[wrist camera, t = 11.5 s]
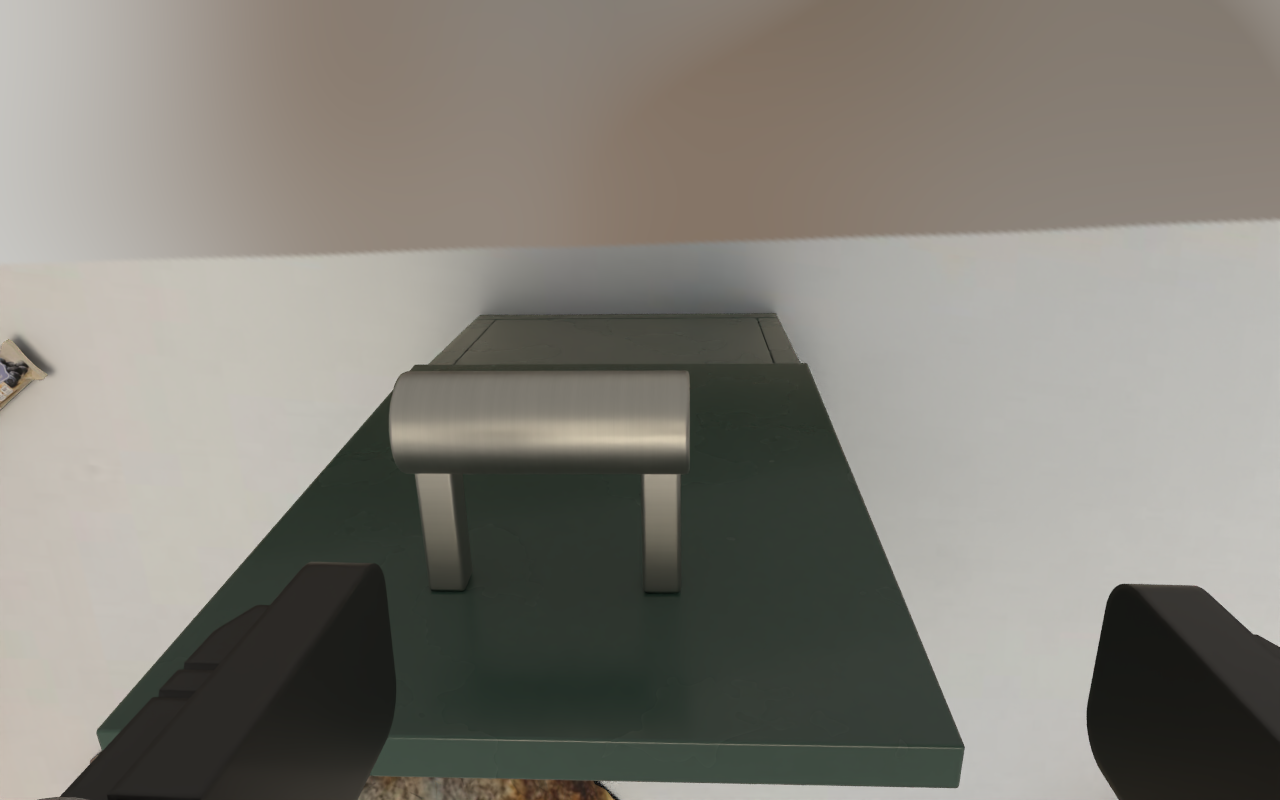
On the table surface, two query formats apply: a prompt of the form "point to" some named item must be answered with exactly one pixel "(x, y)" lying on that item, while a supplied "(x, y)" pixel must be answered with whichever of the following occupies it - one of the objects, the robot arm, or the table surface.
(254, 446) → the table surface
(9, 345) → the granola bar
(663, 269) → the table surface
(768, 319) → the storage box
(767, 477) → the lid
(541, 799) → the bread
